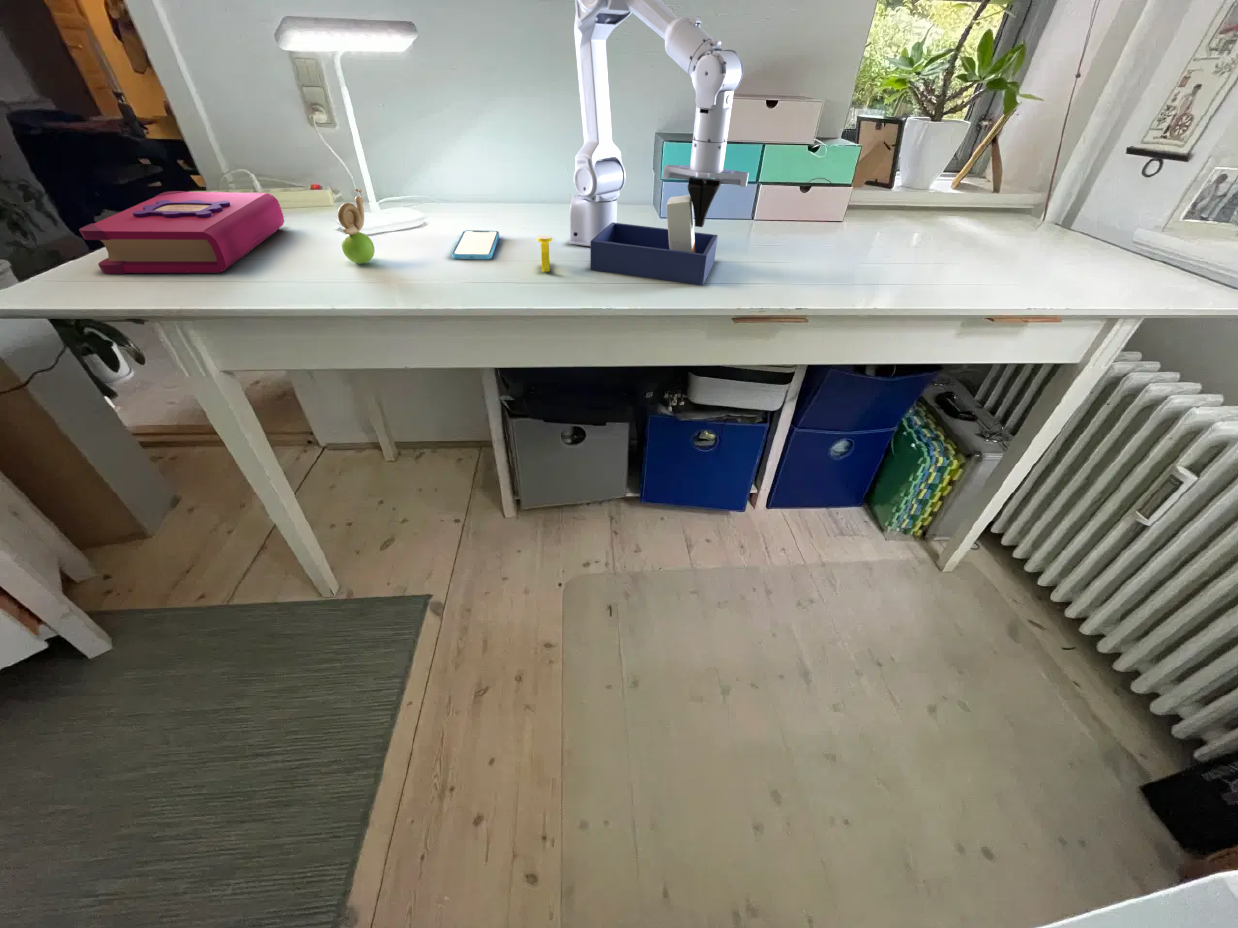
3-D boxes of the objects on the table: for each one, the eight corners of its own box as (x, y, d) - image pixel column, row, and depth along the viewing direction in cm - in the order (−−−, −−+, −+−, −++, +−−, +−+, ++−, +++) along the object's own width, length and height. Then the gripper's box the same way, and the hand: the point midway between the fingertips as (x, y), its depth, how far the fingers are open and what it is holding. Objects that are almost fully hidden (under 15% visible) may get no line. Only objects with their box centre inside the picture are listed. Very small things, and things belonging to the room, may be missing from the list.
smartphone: (450, 254, 105) (463, 230, 117) (451, 260, 106) (464, 235, 118) (490, 255, 106) (499, 231, 117) (491, 261, 107) (499, 236, 118)
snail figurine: (387, 259, 105) (371, 190, 97) (364, 269, 100) (346, 198, 92) (363, 255, 106) (346, 187, 99) (339, 265, 101) (320, 194, 94)
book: (287, 228, 118) (275, 189, 113) (229, 273, 96) (211, 228, 91) (182, 227, 115) (164, 187, 111) (98, 274, 94) (72, 227, 89)
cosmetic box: (693, 270, 103) (689, 201, 96) (671, 272, 104) (665, 204, 97) (696, 260, 107) (692, 194, 100) (675, 262, 108) (669, 196, 101)
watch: (553, 275, 101) (552, 242, 97) (538, 275, 101) (536, 242, 97) (553, 264, 106) (552, 232, 102) (538, 264, 105) (537, 232, 102)
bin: (590, 269, 104) (590, 241, 101) (611, 249, 114) (611, 222, 111) (702, 285, 100) (706, 255, 96) (714, 262, 110) (717, 235, 107)
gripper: (662, 139, 90) (655, 226, 99) (751, 147, 87) (736, 236, 96) (671, 134, 96) (664, 216, 104) (755, 141, 93) (741, 225, 101)
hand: (699, 225), depth 100 cm, fingers closed
